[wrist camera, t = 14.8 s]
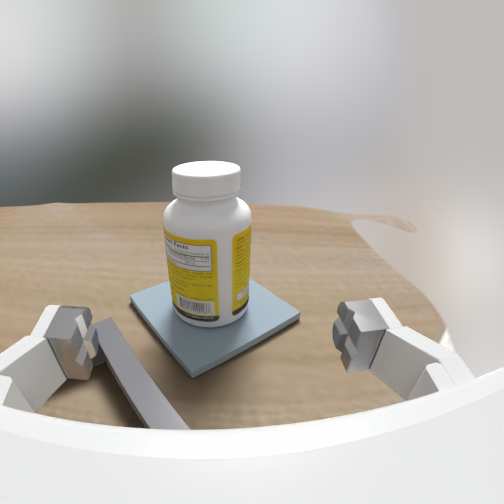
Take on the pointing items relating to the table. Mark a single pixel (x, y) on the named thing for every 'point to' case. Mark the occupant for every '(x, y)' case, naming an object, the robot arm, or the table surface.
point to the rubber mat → (214, 338)
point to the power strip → (134, 380)
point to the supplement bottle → (208, 243)
